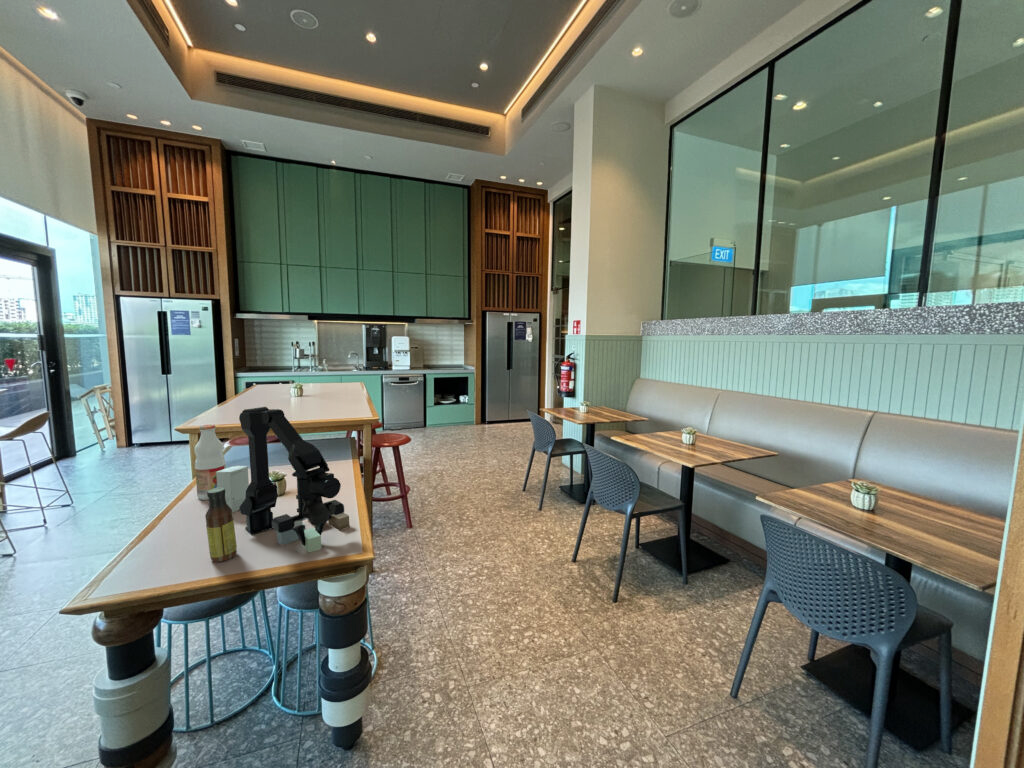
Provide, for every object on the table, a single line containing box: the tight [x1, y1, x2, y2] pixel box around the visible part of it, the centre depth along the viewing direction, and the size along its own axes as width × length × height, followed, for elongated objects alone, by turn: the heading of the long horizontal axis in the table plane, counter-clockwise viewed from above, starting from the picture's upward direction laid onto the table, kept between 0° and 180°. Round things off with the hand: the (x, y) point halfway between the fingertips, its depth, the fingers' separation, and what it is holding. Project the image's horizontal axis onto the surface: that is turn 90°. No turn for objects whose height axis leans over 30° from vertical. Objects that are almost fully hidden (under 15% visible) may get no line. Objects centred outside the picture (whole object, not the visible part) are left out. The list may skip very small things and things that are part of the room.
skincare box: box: [216, 465, 250, 514], centre depth 148 cm, size 8×6×15 cm
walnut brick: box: [327, 512, 350, 531], centre depth 135 cm, size 7×4×4 cm, turn 51°
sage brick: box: [300, 527, 322, 554], centre depth 121 cm, size 7×4×4 cm, turn 43°
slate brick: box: [275, 522, 306, 546], centre depth 125 cm, size 7×4×4 cm, turn 142°
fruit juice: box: [193, 424, 226, 501], centre depth 158 cm, size 9×9×28 cm
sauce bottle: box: [204, 488, 238, 563], centre depth 114 cm, size 7×6×20 cm
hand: (311, 542), depth 121 cm, fingers closed on sage brick, 4 cm apart
